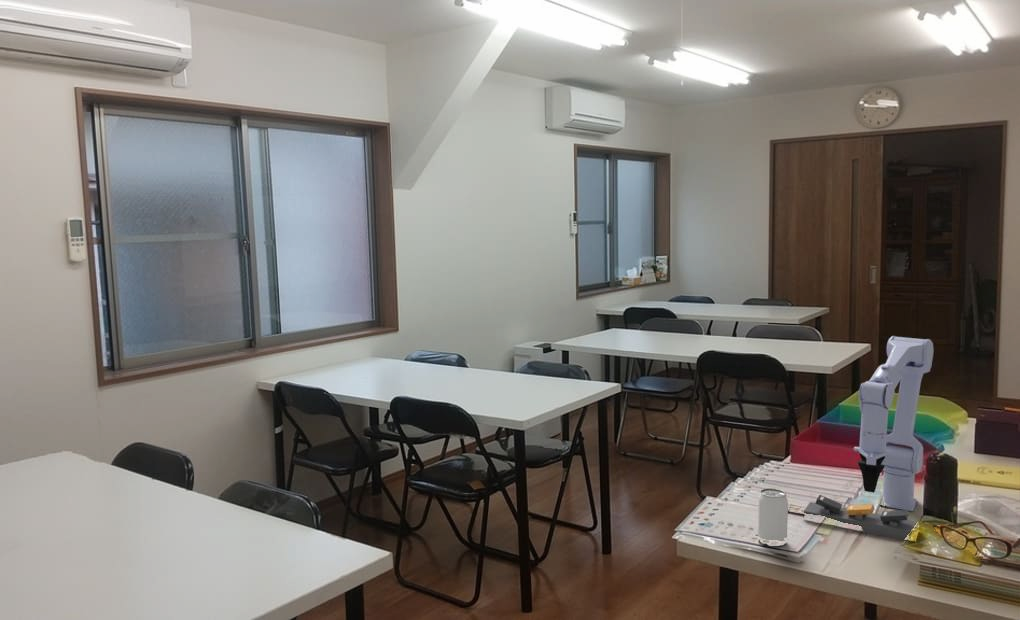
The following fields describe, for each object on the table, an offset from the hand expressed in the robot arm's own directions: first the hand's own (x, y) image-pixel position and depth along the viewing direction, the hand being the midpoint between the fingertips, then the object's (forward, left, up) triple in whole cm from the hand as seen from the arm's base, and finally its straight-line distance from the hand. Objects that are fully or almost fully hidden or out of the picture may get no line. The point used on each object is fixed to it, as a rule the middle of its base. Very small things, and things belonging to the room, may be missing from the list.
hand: (869, 487), depth 180 cm
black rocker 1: (-1, -9, -7) cm, 12 cm away
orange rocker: (-1, -2, -7) cm, 7 cm away
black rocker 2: (-1, +6, -7) cm, 9 cm away
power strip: (-1, -4, -11) cm, 12 cm away
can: (+19, -18, -11) cm, 28 cm away
